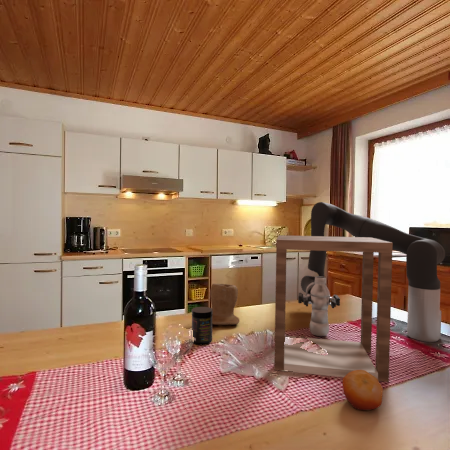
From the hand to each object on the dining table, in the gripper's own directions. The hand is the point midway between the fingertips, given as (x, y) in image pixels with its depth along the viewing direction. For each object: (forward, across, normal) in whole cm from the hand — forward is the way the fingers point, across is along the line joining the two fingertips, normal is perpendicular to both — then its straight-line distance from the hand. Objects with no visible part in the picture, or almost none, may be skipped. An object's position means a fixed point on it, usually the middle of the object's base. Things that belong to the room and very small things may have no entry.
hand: (320, 304), depth 109 cm
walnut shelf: (+18, 0, +11) cm, 21 cm away
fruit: (+39, +5, +11) cm, 41 cm away
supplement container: (+13, -38, +11) cm, 41 cm away
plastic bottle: (-2, 0, +11) cm, 11 cm away
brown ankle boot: (-6, -36, +11) cm, 38 cm away
